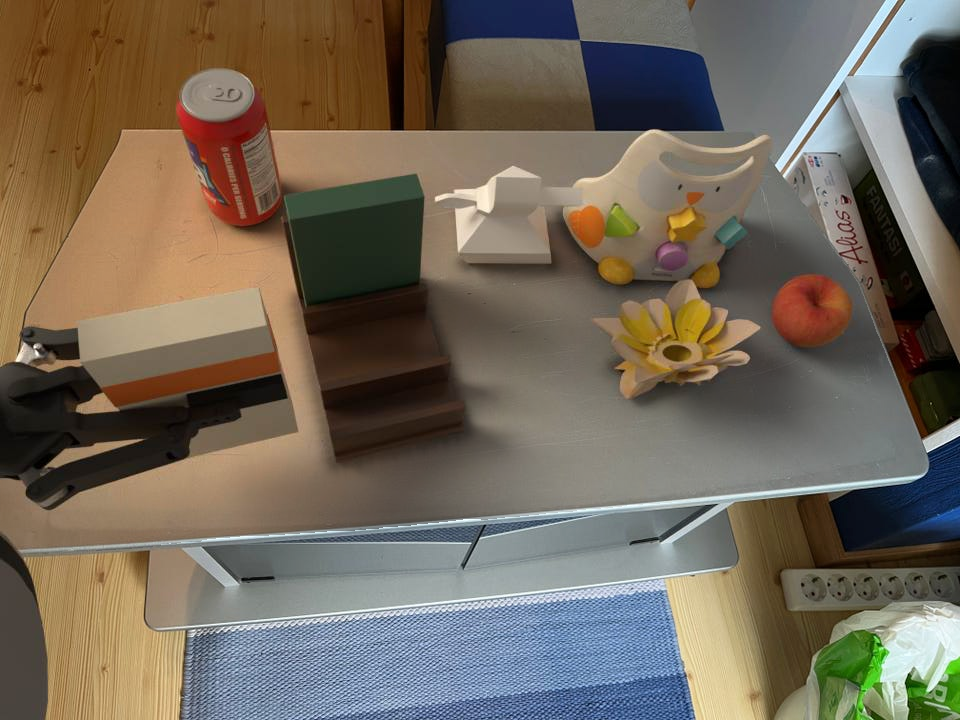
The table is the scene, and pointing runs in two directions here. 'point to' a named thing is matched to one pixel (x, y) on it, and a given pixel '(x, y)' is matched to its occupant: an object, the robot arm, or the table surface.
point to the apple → (811, 310)
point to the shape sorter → (666, 211)
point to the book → (190, 361)
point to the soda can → (230, 145)
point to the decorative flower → (674, 340)
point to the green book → (357, 238)
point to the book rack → (378, 369)
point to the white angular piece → (506, 217)
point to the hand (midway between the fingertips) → (279, 364)
